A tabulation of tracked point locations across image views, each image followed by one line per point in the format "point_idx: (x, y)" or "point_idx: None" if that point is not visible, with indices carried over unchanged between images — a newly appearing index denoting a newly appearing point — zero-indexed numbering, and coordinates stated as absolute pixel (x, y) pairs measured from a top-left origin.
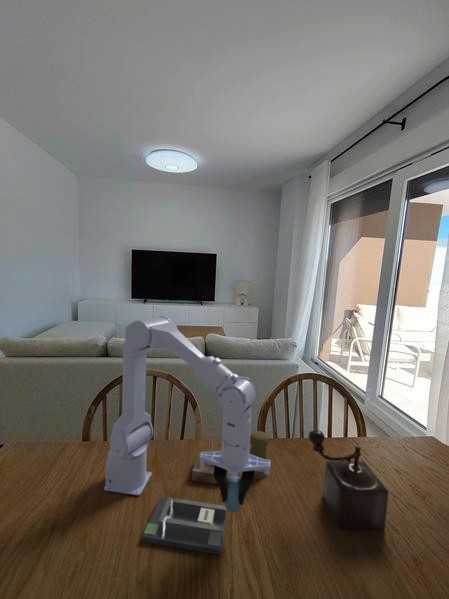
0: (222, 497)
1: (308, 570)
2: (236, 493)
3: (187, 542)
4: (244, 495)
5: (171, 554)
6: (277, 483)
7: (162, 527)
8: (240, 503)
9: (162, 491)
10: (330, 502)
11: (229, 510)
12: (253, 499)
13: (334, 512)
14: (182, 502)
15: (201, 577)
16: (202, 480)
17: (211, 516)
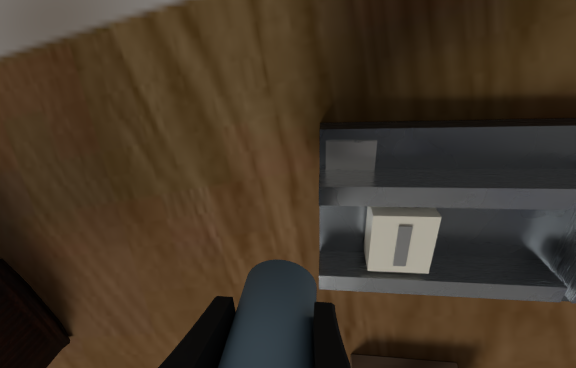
0: (333, 329)
1: (35, 129)
2: (232, 365)
3: (468, 134)
4: (171, 356)
5: (529, 85)
6: None
7: None
8: (223, 302)
9: (573, 322)
10: (19, 325)
11: (291, 265)
12: None
13: (7, 300)
14: (520, 287)
15: (384, 14)
16: (419, 363)
17: (377, 243)
